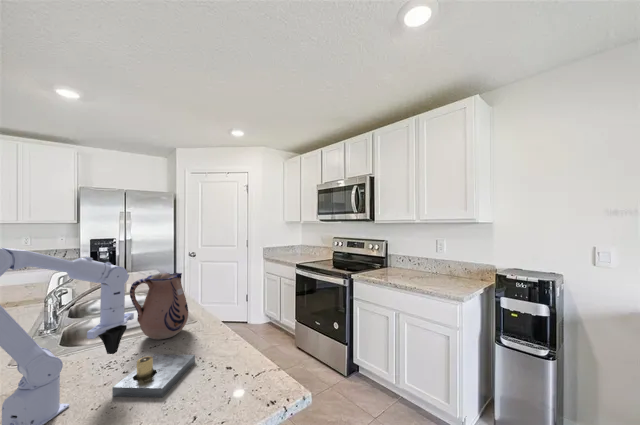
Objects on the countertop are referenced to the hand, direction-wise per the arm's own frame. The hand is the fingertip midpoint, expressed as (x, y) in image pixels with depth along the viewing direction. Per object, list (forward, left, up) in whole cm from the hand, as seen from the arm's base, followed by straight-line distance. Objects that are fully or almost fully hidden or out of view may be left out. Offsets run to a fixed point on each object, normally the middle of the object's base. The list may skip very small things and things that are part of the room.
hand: (112, 352), depth 80 cm
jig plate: (+4, -11, -9) cm, 15 cm away
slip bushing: (+1, -9, -9) cm, 13 cm away
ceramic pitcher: (+32, +6, -10) cm, 34 cm away
